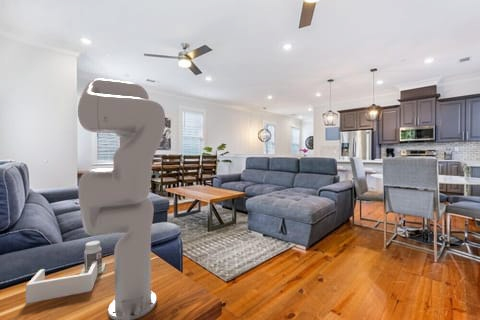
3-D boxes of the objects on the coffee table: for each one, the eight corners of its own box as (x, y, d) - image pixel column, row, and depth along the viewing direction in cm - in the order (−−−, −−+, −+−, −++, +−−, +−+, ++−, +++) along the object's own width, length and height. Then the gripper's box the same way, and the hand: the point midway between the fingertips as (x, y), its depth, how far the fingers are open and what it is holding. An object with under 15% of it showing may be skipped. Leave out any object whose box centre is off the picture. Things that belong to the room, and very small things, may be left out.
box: (91, 291, 74) (91, 274, 74) (26, 303, 68) (25, 285, 68) (97, 275, 83) (97, 260, 83) (40, 285, 77) (40, 269, 77)
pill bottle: (105, 265, 90) (105, 240, 89) (94, 273, 84) (94, 246, 84) (92, 264, 90) (91, 239, 90) (80, 272, 85) (80, 245, 84)
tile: (103, 272, 85) (103, 271, 85) (79, 276, 82) (79, 275, 82) (106, 264, 92) (106, 262, 92) (84, 267, 89) (84, 266, 89)
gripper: (152, 151, 99) (153, 190, 100) (106, 151, 93) (107, 193, 93) (153, 151, 92) (153, 193, 93) (103, 150, 86) (104, 196, 86)
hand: (130, 193), depth 93 cm, fingers open, 9 cm apart
